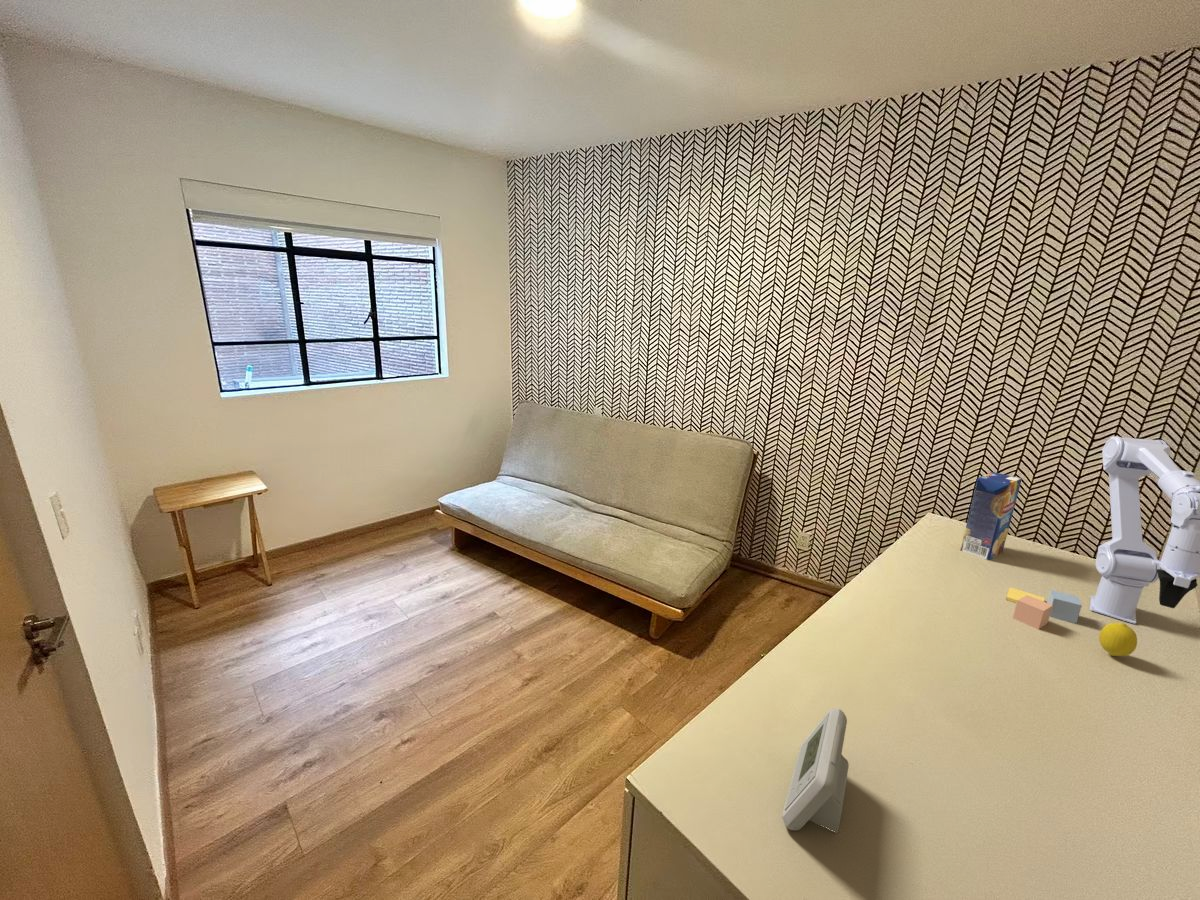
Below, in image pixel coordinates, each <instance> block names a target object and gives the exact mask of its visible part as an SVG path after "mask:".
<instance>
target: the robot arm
mask: <svg viewBox="0 0 1200 900" xmlns="http://www.w3.org/2000/svg"><path fill="white" fill-rule="evenodd" d="M1101 452H1102V465H1103V467H1102V468H1103V471H1105V472H1106V473H1108V481H1109V482H1108V485H1109V501H1110V503H1109V505H1110V519H1111V521H1110V522H1111V523H1110V524H1111V539H1110V540H1108V541H1105V542H1103V543H1102V544H1100V545H1098V547H1097V556H1096V558H1095V568H1096V570H1097V571H1098V573H1099V574H1100V575H1101V578H1100V581H1099V583H1098V587H1097V590H1096V593H1095V595H1092V594H1091V595H1090V603H1089V610H1090V611H1091V612H1095V613H1097V614H1102V615H1103V616H1107V617H1111V618H1114V619H1117V620H1121V621H1124V622H1127V623H1130V624H1135V625H1136V624H1137V615H1136V610H1137V607H1138V603H1139V602H1140V599H1141V596H1142V593H1143V590H1144V587H1149V585H1150V584H1153V583H1156V582H1157V581H1159V595H1158V600H1159V602H1158V603H1159V605H1160V606H1163V607H1167V608H1170V609H1175V608H1176V607H1177V606H1178V605H1179V603H1180V602H1181V600H1183V598H1184V597H1185V596H1186V595H1187V594H1188V593H1189V592H1190V591H1192V590H1194V589H1195V588H1197V587H1198V583H1197V581H1198V580H1197V578H1200V479H1199V478H1197V477H1196V474H1195V473H1194V472H1192V471H1188V470H1181V469H1180V468H1179V467H1178V466H1177V464H1176V463H1175V462H1174V461H1173V459H1172V458H1171V457H1170V452H1171V447H1170V445H1168V444H1167V441H1164V440H1162V439H1145V438H1133V437H1123V436H1122V437H1121V436H1116V435H1115V436H1111V437H1110V438H1108V439H1107V440H1106V441H1105V444H1104V445H1103V448H1102V451H1101ZM1151 474H1154V475H1155V476H1156V477H1157V478H1158V481H1157V486H1158V487H1159V488H1160V489H1161V491H1162V492H1163V493H1164V494H1165V495H1166V496H1167V497H1168V498H1169V499H1170V501H1171V505H1170V509H1171V517H1170V522H1171V524H1172V527H1171V530H1170V533H1169V536H1168V537H1167V538H1168V539H1167V542H1166V544H1165V546H1164V547H1165V548H1164V549H1163V553H1162V557H1161V558H1160V560H1158V559H1159V558H1158V555H1157V551H1156V550H1155V549H1154V548H1152V547H1151V546H1150V545H1149V544H1147V543H1145V542H1144V541H1143V529H1142V527H1143V526H1142V515H1141V514H1142V513H1141V502H1140V501H1141V500H1140V499H1141V498H1140V483H1139V480H1140V478H1142V477H1146V476H1150V475H1151Z"/></svg>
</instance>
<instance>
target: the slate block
mask: <svg viewBox="0 0 1200 900" xmlns="http://www.w3.org/2000/svg"><path fill="white" fill-rule="evenodd" d="M1046 603H1048V604H1051V605H1053V607H1052V610H1051V613H1050V617H1049V618H1054V619H1058V620H1061V621H1065V622H1069V623H1072V624H1077V622H1078V618H1079V616H1080V612H1081V609H1082V607H1083V605H1082V603H1081V600H1080V598H1079V596H1078V595H1073V594H1070V593H1065V592H1063V591H1059V590H1054V589H1050V591H1049V594H1048V598H1047V602H1046Z"/></svg>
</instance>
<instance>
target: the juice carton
mask: <svg viewBox="0 0 1200 900" xmlns="http://www.w3.org/2000/svg"><path fill="white" fill-rule="evenodd" d="M1022 480H1023V478H1022V477H1017V476H1013V475H1010V474H1009V475H1008V474H1004V473H1000V472H994V471H990V472H989V473H986V474H984V475H981V476H979V477H977V479H976V484H975V487H974V492H973V496H972V501H971V505H970V509H969V514H968V518H967V521H966V525H965V530H964V535H963V538H962V543H961V546H960V552H963V553H966V554H968V555H972V556H975V557H977V558H979V559H984V560H986V561H990V560H991V559H993V558H995V557H996V556H998V555H999V554H1000V553H1002V552H1003V551H1004V549H1005V548H1004V547H1005V543H1006V541H1007V537H1008V533H1009V529H1010V526H1011V522H1012V517H1013V514H1014V510H1015V506H1016V503H1017V499H1018V496H1019V491H1020V488H1021V484H1022Z"/></svg>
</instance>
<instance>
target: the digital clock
mask: <svg viewBox="0 0 1200 900" xmlns="http://www.w3.org/2000/svg"><path fill="white" fill-rule="evenodd" d="M847 719H848V718H847V716H846V713H845V712H844V711H843V710H842V709H841V708H840V707H839V708H838V707H835V708H833V707H832V708H830V709H829V710H828V711H827V713H826V714H825V715H824V716H823V717H822V719H821V720H819V723H818V724H817V725H816V726H815V727H814V728H813V730H811V732H810V733H809V735H808V736H807V737H806V738H805V739H804V741H803V742H802V744H801V746H800V748H799V752H798V755H797V758H796V761H795V766H794V769H793V774H792V777H791V780H790V784H789V788H788V791H787V794H786V798H785V801H784V802H785V803H784V806H783V811H782V814H781V817H782V820H783V821H782V822H783V823H784V826H785V827H786V828H787V829H788V830H790V831H799V830H801V829H802V828H803V827H804V826H805V825H806V824H807V823H808V822H809V821H810V820H811V821H810V822H812V821H813V822H812V823H814V822H815V823H814V824H816V823H817V824H816V825H818V824H819V825H818V826H820V825H822V826H824V827H827V828H829V829H830V830H833V831H835V832H836V833H835V834H838V833H839V829H840V824H841V823H840V822H841V819H842V813H843V807H844V806H843V805H844V799H845V792H846V787H847V779H848V775H849V774H848V772H849V766H850V765H849V762H848V761H849V760H848V759H847V758H845V756H843V746H844V742H845V736H846V728H847V724H848V720H847ZM822 826H821V827H822ZM824 827H823V828H824ZM830 830H829V831H830Z"/></svg>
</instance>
